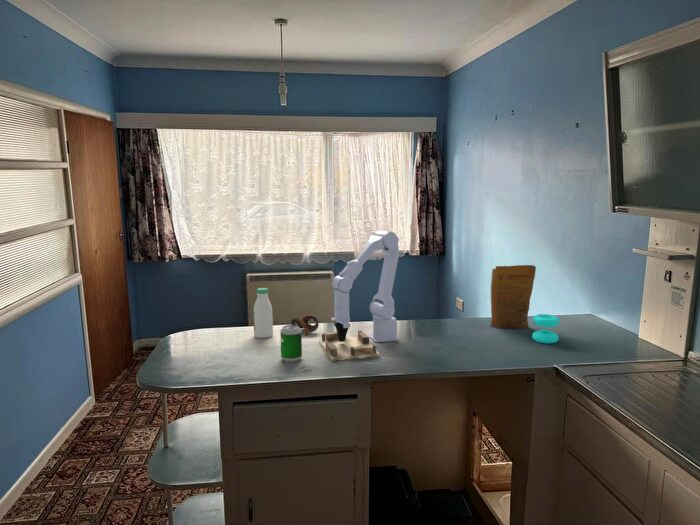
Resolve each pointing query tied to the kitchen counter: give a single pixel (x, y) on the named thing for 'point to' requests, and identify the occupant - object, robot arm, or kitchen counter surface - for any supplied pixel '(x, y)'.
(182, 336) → the kitchen counter surface
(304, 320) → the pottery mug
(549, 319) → the donuts
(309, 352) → the kitchen counter surface
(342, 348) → the stool seat
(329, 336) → the folding leg
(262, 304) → the milk bottle
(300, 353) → the soda can
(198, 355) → the kitchen counter surface
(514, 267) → the pancake mix bag
